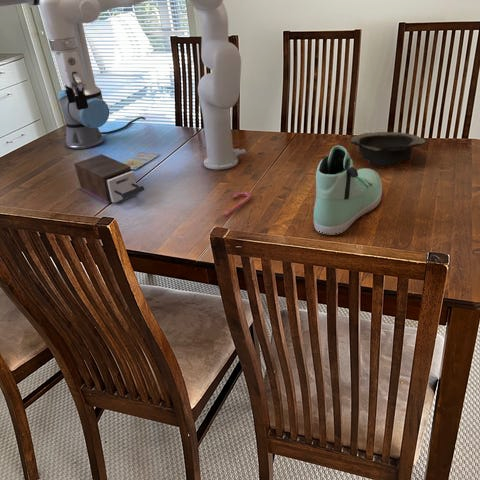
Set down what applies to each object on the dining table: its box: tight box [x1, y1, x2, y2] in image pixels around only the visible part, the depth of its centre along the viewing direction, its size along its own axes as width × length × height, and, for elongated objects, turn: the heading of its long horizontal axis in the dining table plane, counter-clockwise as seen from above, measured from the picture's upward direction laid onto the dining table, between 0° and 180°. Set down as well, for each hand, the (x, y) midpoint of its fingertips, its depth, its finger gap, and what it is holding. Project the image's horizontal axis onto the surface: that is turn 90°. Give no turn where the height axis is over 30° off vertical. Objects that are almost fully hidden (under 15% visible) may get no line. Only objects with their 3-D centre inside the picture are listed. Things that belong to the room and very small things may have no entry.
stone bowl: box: [350, 131, 426, 169], centre depth 166 cm, size 25×25×9 cm
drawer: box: [106, 170, 146, 204], centre depth 155 cm, size 23×9×7 cm, turn 44°
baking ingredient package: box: [122, 152, 159, 170], centre depth 182 cm, size 9×1×15 cm
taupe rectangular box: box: [73, 154, 132, 205], centre depth 159 cm, size 18×10×9 cm, turn 44°
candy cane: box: [223, 191, 253, 218], centre depth 145 cm, size 6×15×2 cm, turn 145°
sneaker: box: [313, 145, 383, 236], centre depth 133 cm, size 14×35×20 cm, turn 152°
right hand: (78, 105), depth 144 cm, fingers open, 9 cm apart
